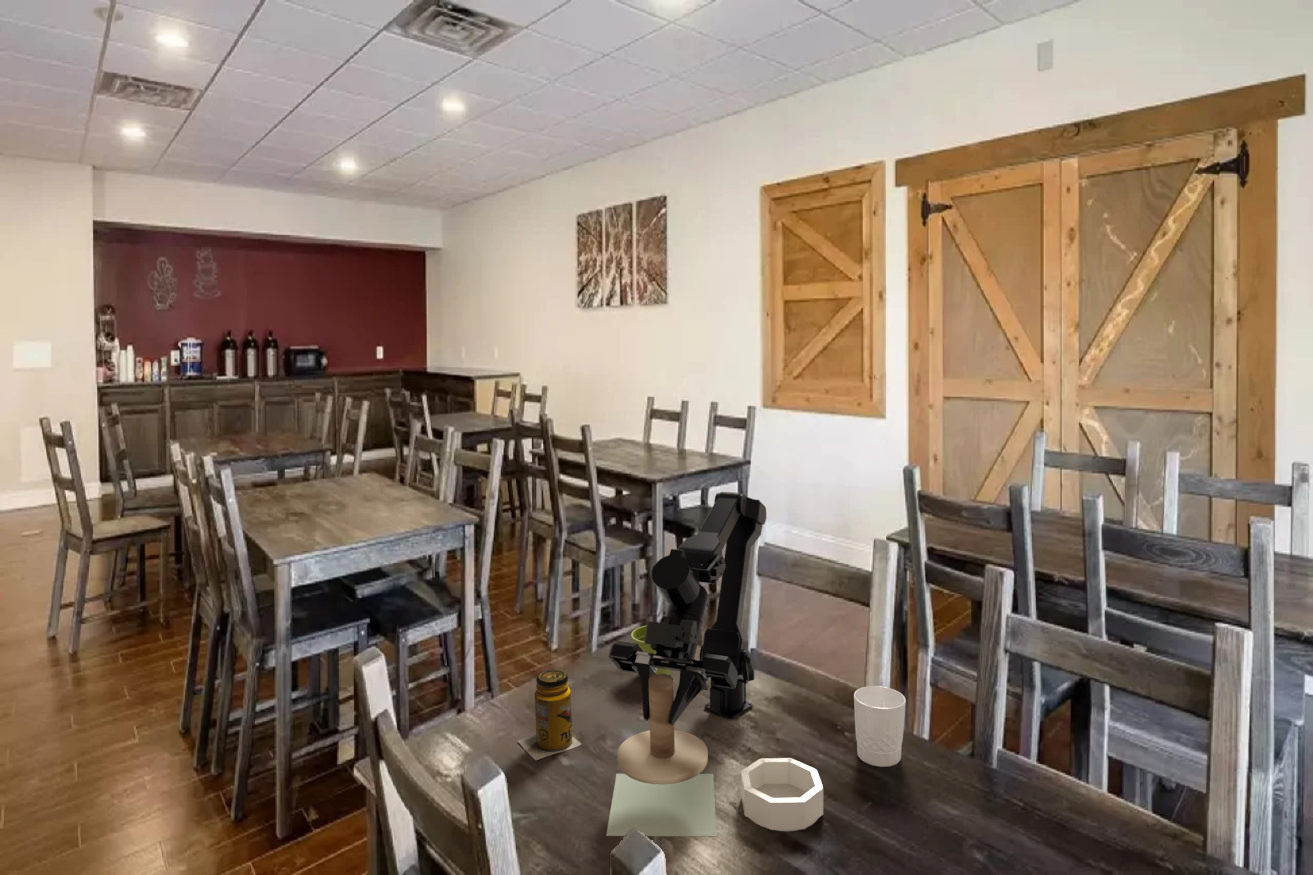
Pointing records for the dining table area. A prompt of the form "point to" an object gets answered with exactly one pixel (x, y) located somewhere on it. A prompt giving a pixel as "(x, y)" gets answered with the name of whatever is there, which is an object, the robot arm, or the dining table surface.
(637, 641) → the plant pot
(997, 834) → the dining table surface
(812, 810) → the ceramic bowl
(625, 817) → the sage mat
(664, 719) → the birch cover
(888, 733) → the white cup
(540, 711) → the condiment
